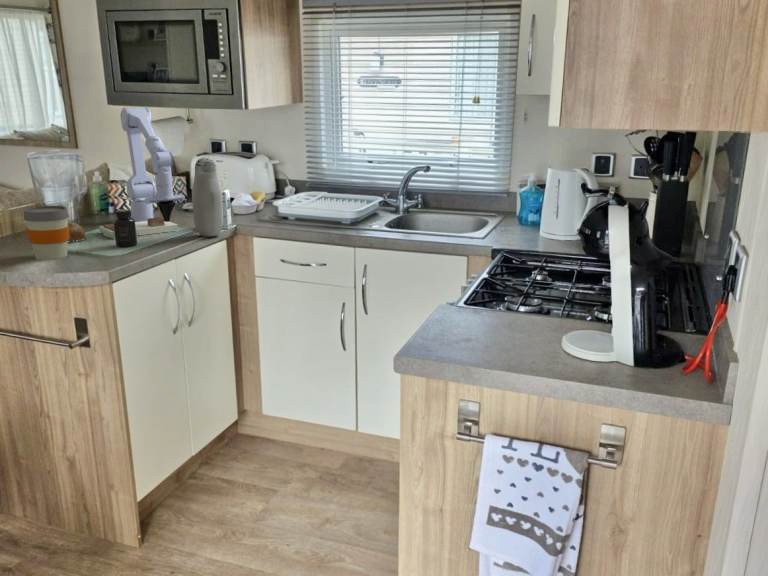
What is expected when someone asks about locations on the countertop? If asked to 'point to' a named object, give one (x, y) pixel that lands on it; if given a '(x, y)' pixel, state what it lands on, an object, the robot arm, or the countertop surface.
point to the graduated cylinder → (226, 209)
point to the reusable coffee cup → (48, 231)
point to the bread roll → (76, 232)
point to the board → (146, 229)
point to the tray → (110, 232)
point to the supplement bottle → (125, 229)
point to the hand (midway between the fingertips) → (166, 221)
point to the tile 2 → (155, 222)
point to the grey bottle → (207, 198)
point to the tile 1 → (109, 226)
